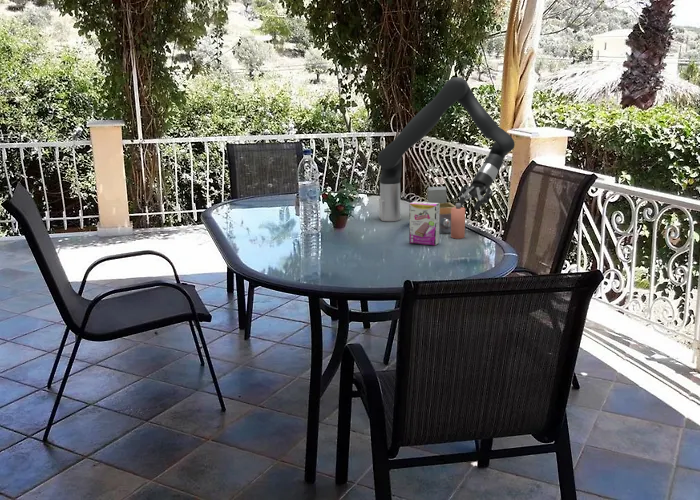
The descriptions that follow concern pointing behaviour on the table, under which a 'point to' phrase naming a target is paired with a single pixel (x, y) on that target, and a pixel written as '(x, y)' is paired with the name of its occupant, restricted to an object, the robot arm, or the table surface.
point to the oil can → (458, 222)
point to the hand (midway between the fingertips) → (467, 208)
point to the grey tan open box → (445, 217)
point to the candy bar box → (424, 223)
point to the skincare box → (437, 194)
